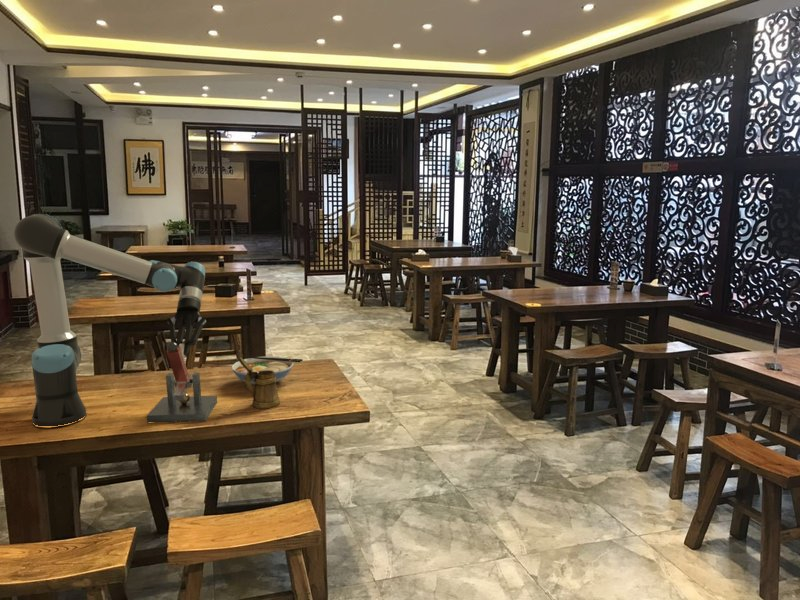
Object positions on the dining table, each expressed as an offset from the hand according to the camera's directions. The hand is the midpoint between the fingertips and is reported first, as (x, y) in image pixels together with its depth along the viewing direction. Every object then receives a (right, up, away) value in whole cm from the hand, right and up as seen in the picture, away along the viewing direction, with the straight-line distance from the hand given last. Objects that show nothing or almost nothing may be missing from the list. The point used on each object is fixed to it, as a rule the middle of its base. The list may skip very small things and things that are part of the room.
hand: (180, 363), depth 199 cm
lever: (0, -9, +2) cm, 10 cm away
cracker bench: (0, -17, +3) cm, 17 cm away
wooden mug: (+24, -15, +10) cm, 30 cm away
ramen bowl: (+20, -11, +32) cm, 40 cm away
